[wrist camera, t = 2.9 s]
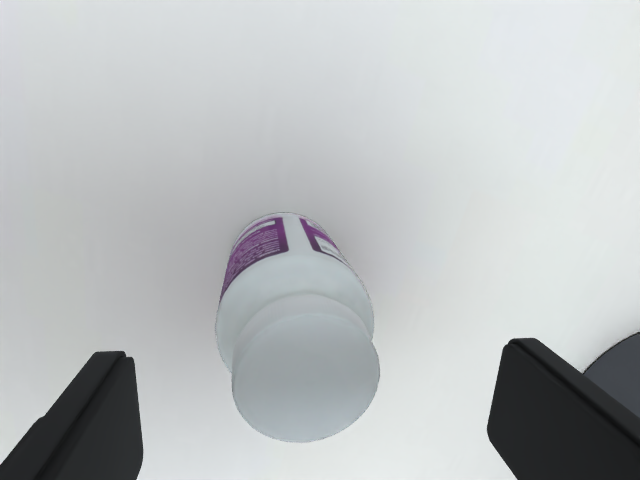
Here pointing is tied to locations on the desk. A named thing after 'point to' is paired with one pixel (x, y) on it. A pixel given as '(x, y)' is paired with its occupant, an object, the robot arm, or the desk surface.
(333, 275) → the pill bottle
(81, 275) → the desk surface
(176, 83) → the desk surface
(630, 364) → the light fixture
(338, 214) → the desk surface
